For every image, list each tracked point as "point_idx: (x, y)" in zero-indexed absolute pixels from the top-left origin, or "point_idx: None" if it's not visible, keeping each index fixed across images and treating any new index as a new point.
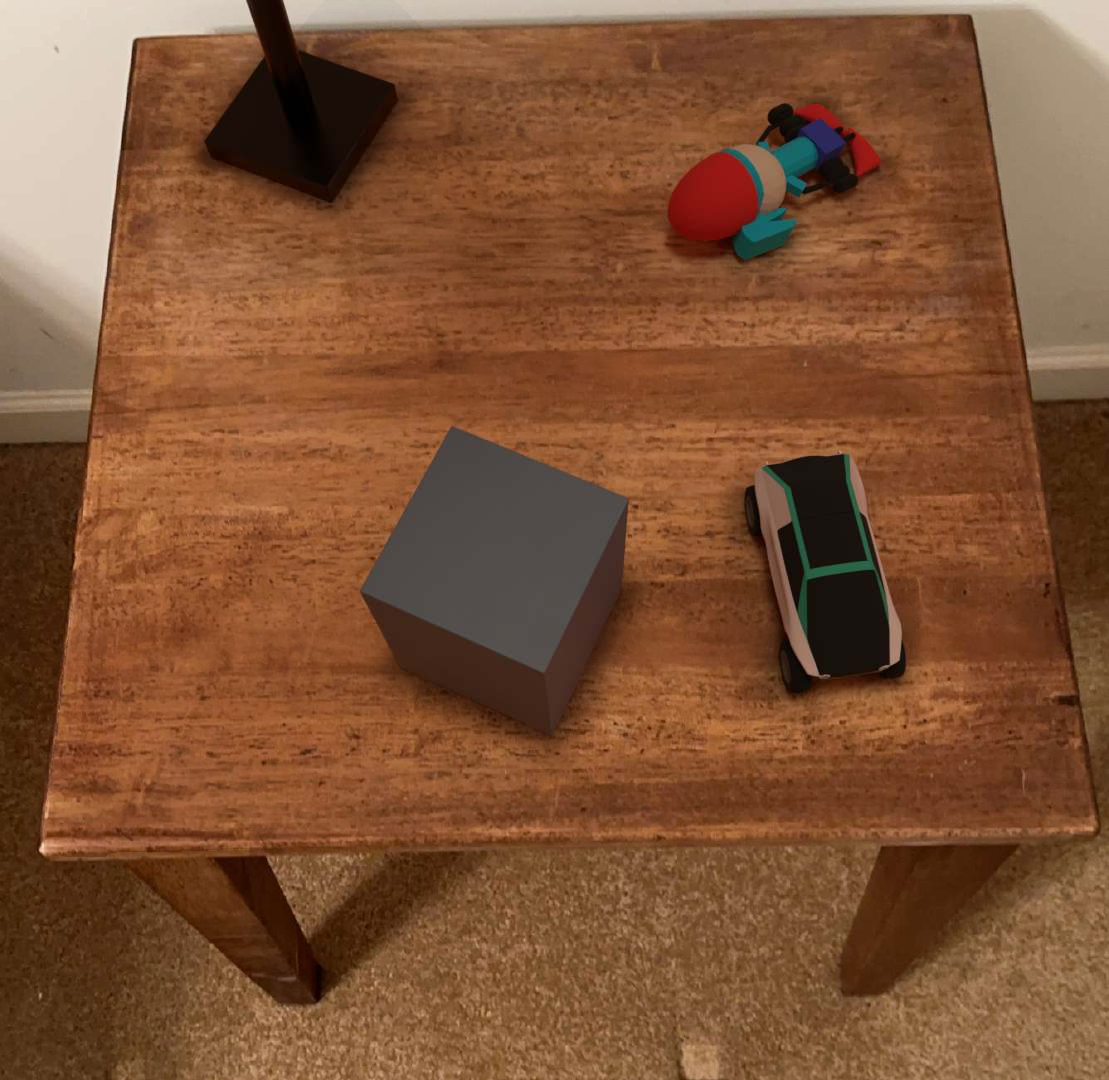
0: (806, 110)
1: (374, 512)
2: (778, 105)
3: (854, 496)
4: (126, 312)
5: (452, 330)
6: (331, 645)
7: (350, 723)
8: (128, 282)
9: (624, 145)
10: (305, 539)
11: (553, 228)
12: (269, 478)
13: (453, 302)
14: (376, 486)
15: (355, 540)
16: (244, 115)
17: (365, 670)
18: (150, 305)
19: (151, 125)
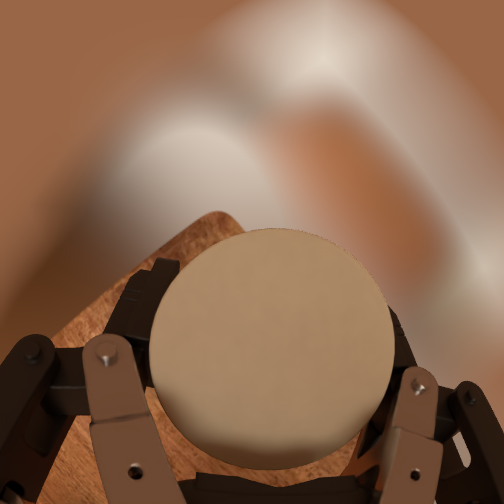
0: None
1: (88, 481)
2: None
3: None
4: (81, 322)
5: (178, 469)
6: (46, 486)
7: (37, 500)
8: (94, 310)
9: (326, 463)
10: (61, 462)
11: (261, 472)
12: (67, 436)
13: (191, 461)
14: (96, 477)
15: (75, 479)
16: None
17: (50, 499)
18: (90, 330)
19: (179, 246)
